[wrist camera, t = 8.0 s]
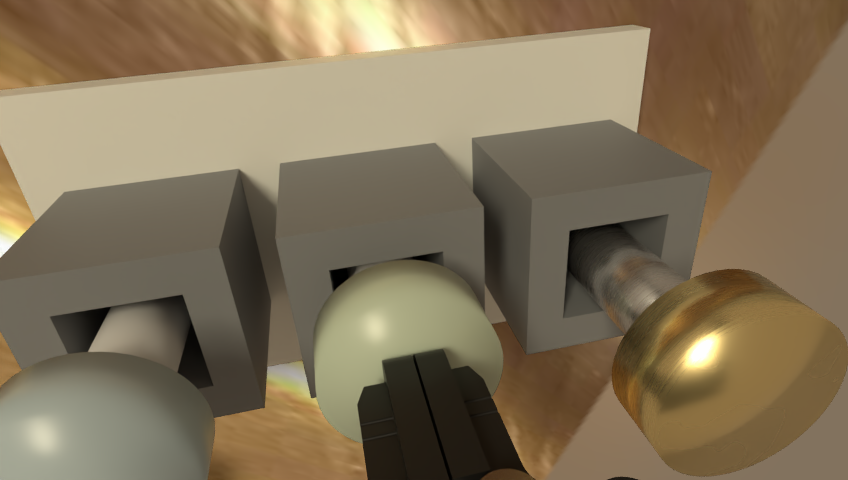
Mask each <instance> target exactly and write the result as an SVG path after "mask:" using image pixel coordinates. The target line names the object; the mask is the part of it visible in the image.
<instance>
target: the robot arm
mask: <svg viewBox="0 0 848 480" xmlns="http://www.w3.org/2000/svg"><path fill="white" fill-rule="evenodd" d="M382 368H383V376H384V383H380V384H375V385H370V386H365V387H363V390H362V393H361V396H360V398H359V401H358V404H357V407H358V414H359V421H360V428H361V435H362V442H363V449H364V456H365V463H366V470H367V477H368V480H535V479H534V478H533V477H532V476H530V475H529V474H528V472H527V471H526V470H525V468H524V467H523V465H522V463H521V461H520V458H519V456H518V454H517V452H516V450H515V447H514V445H513V443H512V441H511V439H510V436H509V434H508V432H507V430H506V427H505V425H504V423H503V421H502V419H501V416H500V414H499V413H498V411H497V408H496V405H495V403H494V401H493V399H492V398H491V394H490V392H489V390H488V388H487V386H486V383H485V381H484V379H483V378H482V377H481V376H480V375H479V374H477V373H476V372H475V371H474V370H473V369H472V368H471V367H469V366H464V367H459V368H454V369H451V367H450V364H449V361H448V359H447V356H446V354H445V351H444V350H443V349H437V350H432V351H427V352H422V353H417V354H413V357H412V355H407V356H402V357H397V358H392V359H387V360H382ZM608 480H638V479H634V478H629V477H615V478H611V479H608Z"/></svg>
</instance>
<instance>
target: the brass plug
mask: <svg viewBox="0 0 848 480" xmlns="http://www.w3.org/2000/svg"><path fill="white" fill-rule="evenodd" d="M567 269H568V270H569V272H570V273H571V274H572V275H573V276H574V277H575V278H576V280H577V281H578V282H579V283H580V284H581V285H582V286H583V288H584V289H585V290H586V291H587V292H588V293H589V294H590V296H591V297H592V298H593V299H594V300H595V301H596V302H597V304H598V305H599V306H600V307H601V308H602V309H603V310H604V311H605V313H606V314H607V315H608V316H609V317H610V318H611V319H612V321H613V322H614V323H615V324H616V325H617V326H618V327H619V329H620V330H621V331H622V332H623V333H624V334H625V336H624V337H623V339H622V341H621V343H620V345H619V347H618V349H617V352H616V355H615V358H614V362H613V367H612V384H613V388H614V391H615V394H616V396H617V398H618V400H619V401H620V403H621V404H622V405H623V407H624V408H625V409H626V411H627V412H628V413H629V415H630V416H631V418H632V419H633V420H634V421H635V423H636V424H637V426H638V427H639V428H640V430H641V431H642V433H643V434H644V435H645V437H646V438H647V439H648V441H649V442H650V443H651V445H652V446H653V448H654V449H655V450H656V452H657V453H658V454H659V456H660V457H661V458H662V460H663V461H664V462H665V463H666V464H667V465H668V466H670V467H671V468H672V469H674V470H676V471H678V472H680V473H683V474H687V475H692V476H716V475H722V474H727V473H731V472H735V471H738V470H741V469H744V468H747V467H749V466H752V465H754V464H756V463H758V462H761V461H763V460H765V459H767V458H768V457H770V456H772V455H774V454H775V453H777V452H779V451H780V450H782V449H783V448H785V447H786V446H787V445H789V444H790V443H792V442H793V441H794V440H796V439H797V438H798V437H799V436H800V435H802V434H803V433H804V432H805V431H806V430H807V429H808V428H809V427H810V426H811V425H812V424H813V423H814V422H815V421H816V420H817V419H818V418H819V417H820V416H821V415H822V413H823V412H824V411H825V410H826V409H827V407H828V406H829V404H830V403H831V402H832V400H833V398H834V397H835V395H836V394H837V392H838V390H839V388H840V386H841V384H842V382H843V379H844V376H845V373H846V370H847V365H848V347H847V342H846V340H845V337H844V335H843V334H842V332H841V331H840V329H839V328H837V327H836V326H835V325H834V324H833V323H832V322H830V321H828V320H827V319H826V318H824V317H823V316H821V315H820V314H818V313H817V312H815V311H814V310H812V309H811V308H809V307H808V306H806V305H805V304H804V303H802V302H801V301H799V300H798V299H796V298H795V297H793V296H792V295H790V294H789V293H787V292H786V291H784V290H783V289H782V288H780V287H778V286H777V285H776V284H774V283H773V282H771V281H770V280H768V279H767V278H765V277H763V276H762V275H760V274H758V273H755V272H752V271H748V270H741V269H726V270H717V271H713V272H709V273H705V274H702V275H699V276H696V277H694V278H691V279H689V280H685V279H684V278H683V277H682V276H681V275H679V274H678V273H677V272H676V271H674V270H673V269H672V268H671V267H670V266H668V265H667V264H666V263H665V262H664V261H662V260H661V259H660V258H659V257H657V256H656V255H655V254H654V253H653V252H651V251H650V250H649V249H648V248H647V247H645V246H644V245H643V244H642V243H640V242H639V241H638V240H637V239H636V238H634V237H633V236H632V235H631V234H630V233H628V232H627V231H626V230H625V229H623V228H622V227H621V226H620V225H619V224H617V223H612V224H606V225H600V226H594V227H588V228H582V229H576V230H570V231H569V244H568V258H567Z"/></svg>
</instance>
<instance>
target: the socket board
mask: <svg viewBox="0 0 848 480" xmlns="http://www.w3.org/2000/svg"><path fill="white" fill-rule="evenodd" d="M649 35H650V28H645V27H640V26H635V25H626V26H616V27H607V28H597V29H587V30H577V31H568V32H558V33H548V34H539V35H529V36H519V37H510V38H500V39H490V40H481V41H471V42H461V43H452V44H442V45H432V46H423V47H413V48H403V49H394V50H384V51H374V52H365V53H355V54H345V55H336V56H326V57H316V58H307V59H297V60H287V61H278V62H268V63H258V64H249V65H239V66H229V67H220V68H210V69H200V70H191V71H181V72H171V73H162V74H152V75H142V76H133V77H123V78H113V79H104V80H94V81H84V82H75V83H65V84H55V85H46V86H36V87H26V88H17V89H7V90H0V145H1V147H2V149H3V151H4V153H5V155H6V158H7V160H8V162H9V164H10V166H11V168H12V171H13V173H14V175H15V177H16V179H17V181H18V184H19V186H20V188H21V190H22V192H23V194H24V197H25V199H26V201H27V203H28V205H29V207H30V210H31V212H32V214H33V216H34V218H35V220H36V222H35V223H34V224H33V225H32V226H31V227H30V228H29V229H28V230H27V231H26V232H25V233H24V234H23V235H22V236H21V237H20V238H19V239H18V240H17V241H16V242H15V243H14V244H13V245H12V246H11V247H10V249H9V250H8V251H7V252H6V253H5V254H4V255H3V256H2V257H1V258H0V332H1V333H2V335H3V337H4V339H5V341H6V342H7V344H8V346H9V348H10V349H11V351H12V353H13V355H14V357H15V358H16V360H17V362H18V364H19V366H20V367H21V369H22V370H23V369H25V368H27V367H29V366H31V365H33V364H35V363H38V362H41V361H44V360H46V359H49V358H53V357H57V356H61V355H66V354H72V353H80V352H88V351H89V349H90V347H91V345H92V343H93V341H94V339H95V337H96V335H97V333H98V331H99V329H100V327H101V325H102V324H103V322H104V320H105V318H106V316H107V314H108V312H109V310H110V308H111V306H117V305H123V304H129V303H135V302H141V301H147V300H153V299H159V298H165V297H171V296H177V295H183V297H184V300H185V303H186V306H187V309H188V312H189V315H190V318H191V325H190V328H189V332H188V335H187V339H186V343H185V346H184V350H183V354H182V357H181V361H180V364H179V368H178V372H177V373H179V374H180V375H182V376H183V377H185V378H186V379H187V380H188V381H190V382H191V383H192V384H193V385H194V386H195V387H196V388H197V389H198V390H199V391H200V392H201V393H202V394H203V396H204V397H205V399H206V400H207V402H208V404H209V406H210V408H211V410H212V413H213V417H214V418H216V417H221V416H225V415H230V414H235V413H240V412H245V411H250V410H255V409H260V408H265V394H266V378H267V367H268V366H273V365H278V364H284V363H289V362H294V361H299V360H303V364H304V368H305V373H306V377H307V382H308V386H309V391H310V395H311V398H315V397H317V396H316V387H315V368H314V349H313V332H314V327H315V322H316V319H317V317H318V314H319V312H320V310H321V308H322V306H323V305H324V303H325V302H326V300H327V299H328V298H329V296H330V295H331V294H332V293H333V292H334V291H335V290H336V289H337V288H338V287H339V286H340V285H341V284H342V283H344V282H345V281H346V280H347V279H348V273H347V267H352V266H358V265H364V264H370V263H376V262H383V261H389V260H395V259H401V258H407V257H413V258H414V260H420V261H427V262H431V263H435V264H438V265H441V266H443V267H446V268H448V269H450V270H451V271H453V272H455V273H456V274H458V275H459V276H460V277H461V278H463V279H464V280H465V281H466V283H467V284H468V285H469V286H470V287H471V289H472V290H473V292H474V293H475V295H476V297H477V299H478V301H479V302H480V304H481V306H482V308H483V310H484V312H485V314H486V315H487V317H488V319H489V321H490V323H491V324H494V323H499V322H505V321H507V322H508V324H509V326H510V328H511V329H512V331H513V333H514V334H515V336H516V338H517V339H518V341H519V343H520V345H521V346H522V348H523V350H524V351H525V353H526V355H528V354H533V353H538V352H543V351H548V350H553V349H558V348H563V347H568V346H573V345H578V344H583V343H588V342H593V341H598V340H603V339H608V338H613V337H618V336H623V335H625V334H624V333H623V332H622V331H621V330H620V329H619V327H618V326H617V325H616V324H615V323H614V322H613V321H612V319H611V318H610V317H609V316H608V315H607V314H606V313H605V311H604V310H603V309H602V308H601V307H600V306H599V305H598V304H597V302H596V301H595V300H594V299H593V298H592V297H591V296H590V294H589V293H588V292H587V291H586V290H585V289H584V288H583V286H582V285H581V284H580V283H579V282H578V281H577V280H576V278H575V277H574V276H573V275H572V274H571V273H570V272H569V270H568V269H567V258H568V244H569V231H570V230H576V229H582V228H588V227H594V226H600V225H606V224H612V223H617V224H619V225H620V226H621V227H622V228H623V229H625V230H626V231H627V232H628V233H630V234H631V235H632V236H633V237H634V238H636V239H637V240H638V241H639V242H640V243H642V244H643V245H644V246H645V247H647V248H648V249H649V250H650V251H651V252H653V253H654V254H655V255H656V256H657V257H659V258H660V259H661V260H662V261H664V262H665V263H666V264H667V265H668V266H670V267H671V268H672V269H673V270H674V271H676V272H677V273H678V274H679V275H681V276H682V277H683V278H684V279H685V280H689V279H690V274H691V270H692V265H693V260H694V256H695V251H696V246H697V241H698V236H699V231H700V227H701V222H702V217H703V212H704V207H705V202H706V198H707V193H708V188H709V183H710V178H711V173H712V171H710V170H708V169H706V168H704V167H702V166H700V165H699V164H697V163H695V162H693V161H691V160H689V159H687V158H685V157H683V156H681V155H679V154H677V153H675V152H673V151H671V150H669V149H667V148H665V147H663V146H662V145H660V144H658V143H656V142H654V141H652V140H650V139H648V138H646V137H644V136H642V135H640V134H638V133H637V127H638V120H639V112H640V104H641V97H642V89H643V81H644V73H645V66H646V58H647V50H648V43H649Z"/></svg>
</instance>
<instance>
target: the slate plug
mask: <svg viewBox="0 0 848 480" xmlns="http://www.w3.org/2000/svg"><path fill="white" fill-rule="evenodd" d="M190 325H191V318H190V315H189V312H188V309H187V306H186V303H185V300H184V297H183V295H177V296H171V297H165V298H159V299H153V300H147V301H141V302H135V303H129V304H123V305H117V306H111V308H110V310H109V312H108V314H107V316H106V318H105V320H104V322H103V324H102V325H101V327H100V329H99V331H98V333H97V335H96V337H95V339H94V341H93V343H92V345H91V347H90V349H89V351H88V352H80V353H72V354H66V355H61V356H57V357H53V358H49V359H46V360H44V361H41V362H38V363H35V364H33V365H31V366H29V367H27V368H25V369H23V370H22V371H20V372H18V373H17V374H15V375H14V376H12V377H11V378H10V379H9V380H8V381H6V382H5V383H4V384H3V385H2V386H1V387H0V480H208V474H209V468H210V462H211V455H212V449H213V443H214V436H215V421H214V417H213V413H212V410H211V408H210V406H209V404H208V402H207V400H206V399H205V397H204V396H203V394H202V393H201V392H200V391H199V390H198V389H197V388H196V387H195V386H194V385H193V384H192V383H191V382H190V381H188V380H187V379H186V378H185V377H183V376H182V375H180V374H179V373H177V372H178V368H179V364H180V361H181V357H182V354H183V350H184V346H185V343H186V339H187V335H188V332H189V328H190Z"/></svg>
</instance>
